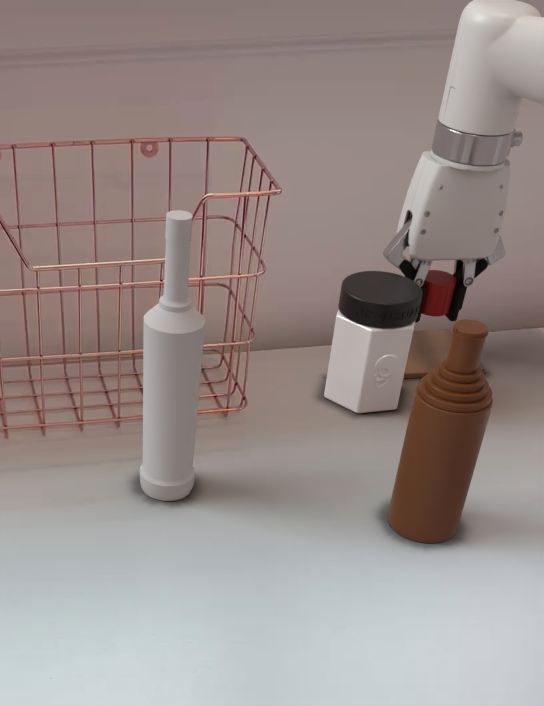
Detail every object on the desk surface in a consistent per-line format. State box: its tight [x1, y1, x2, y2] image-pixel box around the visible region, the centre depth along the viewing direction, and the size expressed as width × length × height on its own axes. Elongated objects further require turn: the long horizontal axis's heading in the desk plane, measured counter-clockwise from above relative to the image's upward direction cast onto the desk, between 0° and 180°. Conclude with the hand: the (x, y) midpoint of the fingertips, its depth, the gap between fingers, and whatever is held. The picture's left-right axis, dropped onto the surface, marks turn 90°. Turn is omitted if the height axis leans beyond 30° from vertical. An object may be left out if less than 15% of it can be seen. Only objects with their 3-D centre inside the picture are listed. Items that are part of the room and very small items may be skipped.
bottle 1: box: [139, 209, 207, 502], centre depth 88 cm, size 5×5×25 cm
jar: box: [323, 270, 422, 414], centre depth 107 cm, size 9×8×12 cm
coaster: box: [403, 328, 485, 380], centre depth 118 cm, size 10×10×1 cm
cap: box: [421, 269, 456, 318], centre depth 114 cm, size 4×4×4 cm
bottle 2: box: [386, 318, 494, 544], centre depth 88 cm, size 6×6×19 cm
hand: (429, 315), depth 115 cm, fingers closed on cap, 3 cm apart
